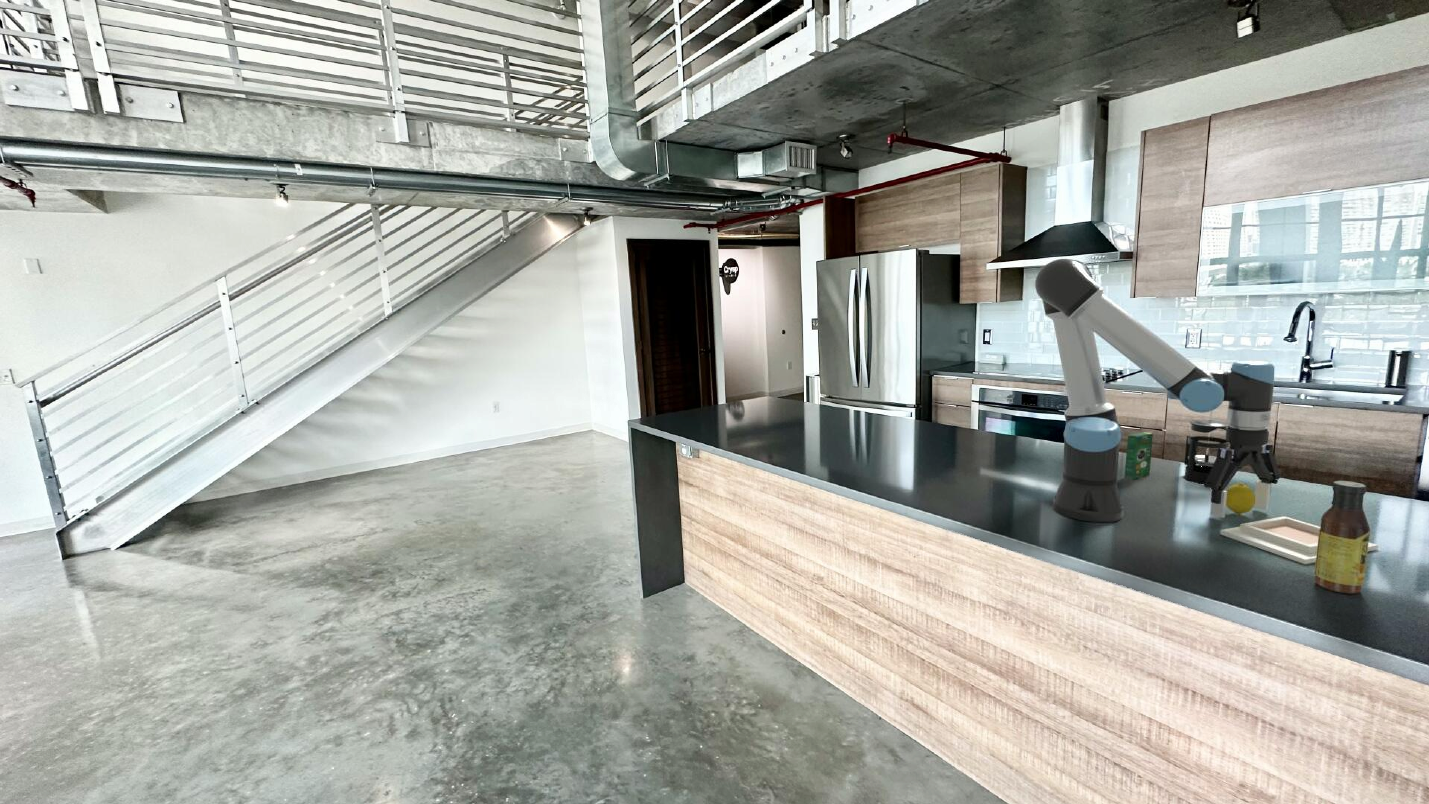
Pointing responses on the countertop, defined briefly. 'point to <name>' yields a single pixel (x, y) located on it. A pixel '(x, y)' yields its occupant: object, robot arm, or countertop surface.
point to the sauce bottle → (1343, 540)
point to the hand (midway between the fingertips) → (1239, 511)
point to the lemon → (1240, 498)
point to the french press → (1191, 458)
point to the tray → (1282, 537)
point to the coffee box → (1138, 455)
